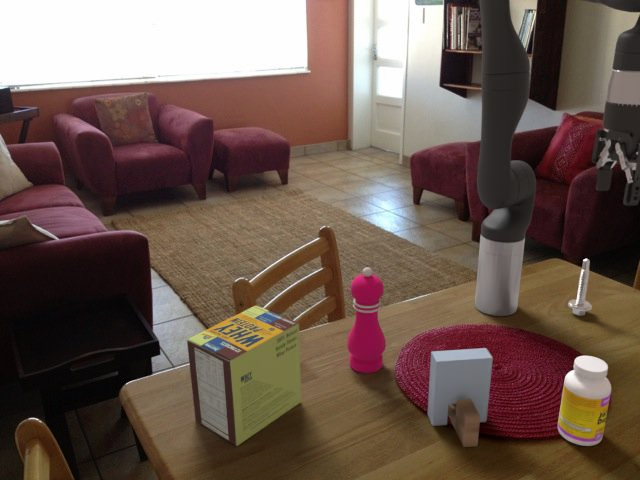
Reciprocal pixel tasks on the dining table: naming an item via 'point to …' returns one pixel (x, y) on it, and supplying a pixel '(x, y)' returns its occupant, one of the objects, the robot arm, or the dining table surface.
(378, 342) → the pepper mill
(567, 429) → the supplement bottle
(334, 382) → the dining table surface
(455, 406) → the wooden notched block
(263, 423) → the protein box
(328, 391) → the dining table surface
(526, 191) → the robot arm
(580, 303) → the screw
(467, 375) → the pale blue notched block
